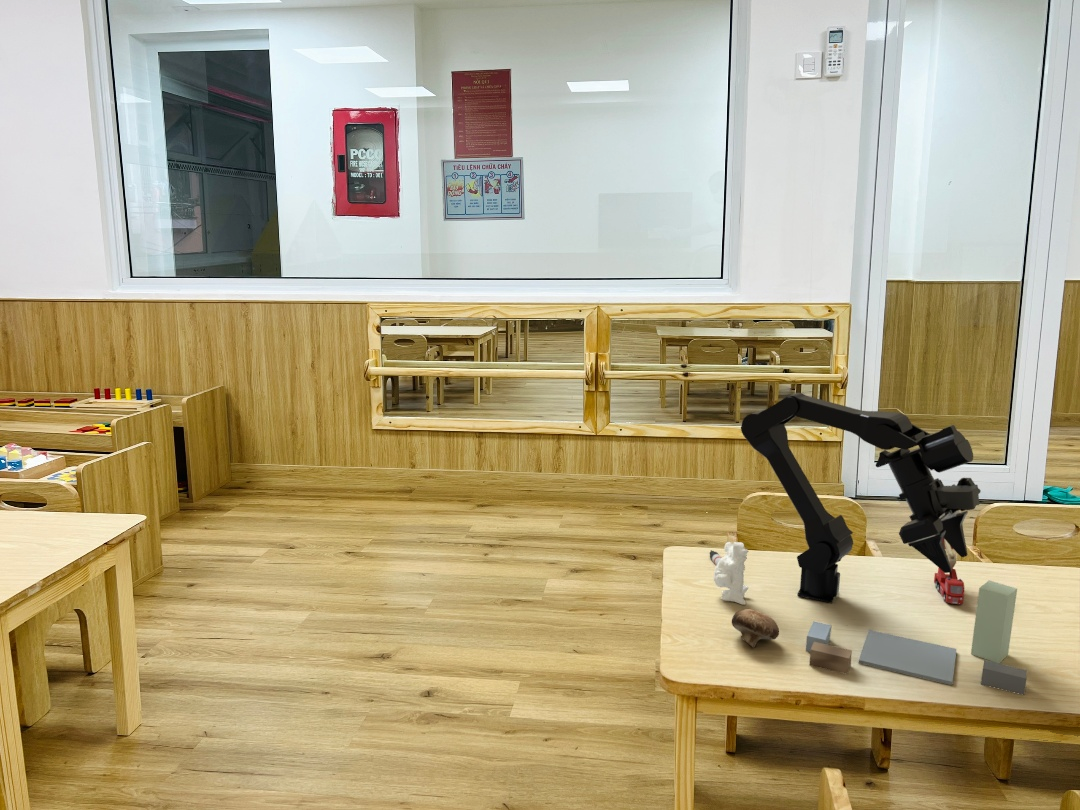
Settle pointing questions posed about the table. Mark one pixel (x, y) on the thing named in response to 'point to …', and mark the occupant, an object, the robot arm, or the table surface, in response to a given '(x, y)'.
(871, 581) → the table surface
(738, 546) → the white toy figurine
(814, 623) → the dusty blue brick
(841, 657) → the walnut brick
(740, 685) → the table surface
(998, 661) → the sage brick
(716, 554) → the marker
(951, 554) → the toy fire truck
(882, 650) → the slate mat
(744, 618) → the mushroom
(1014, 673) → the charcoal brick
